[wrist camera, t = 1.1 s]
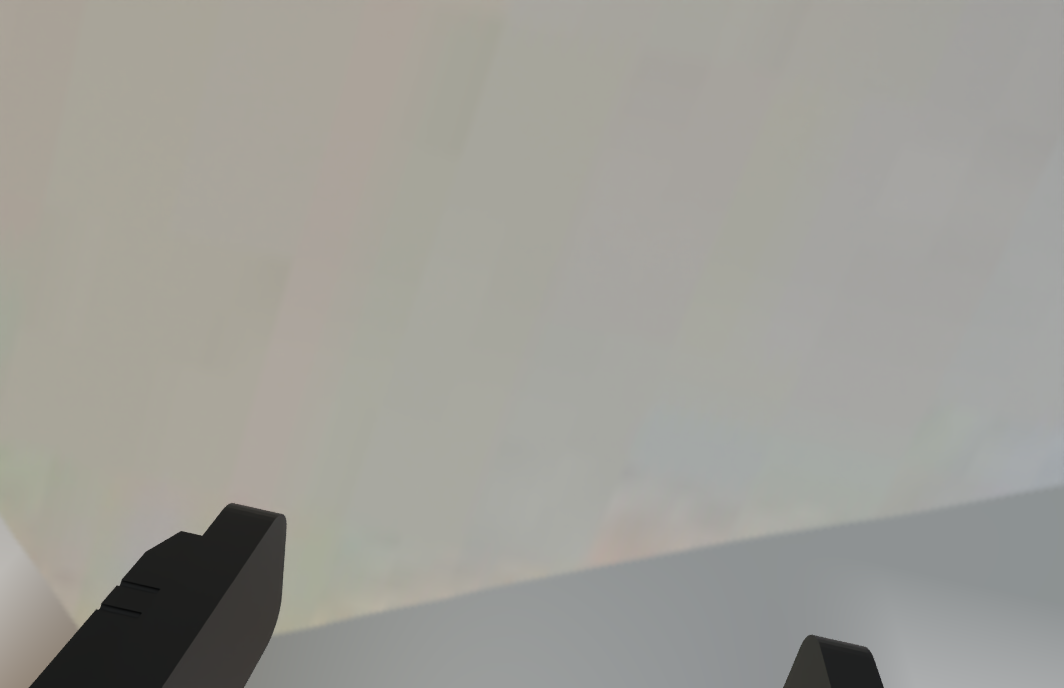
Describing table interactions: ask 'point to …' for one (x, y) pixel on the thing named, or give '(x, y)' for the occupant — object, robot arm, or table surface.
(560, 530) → the table surface
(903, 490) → the table surface
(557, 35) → the table surface
